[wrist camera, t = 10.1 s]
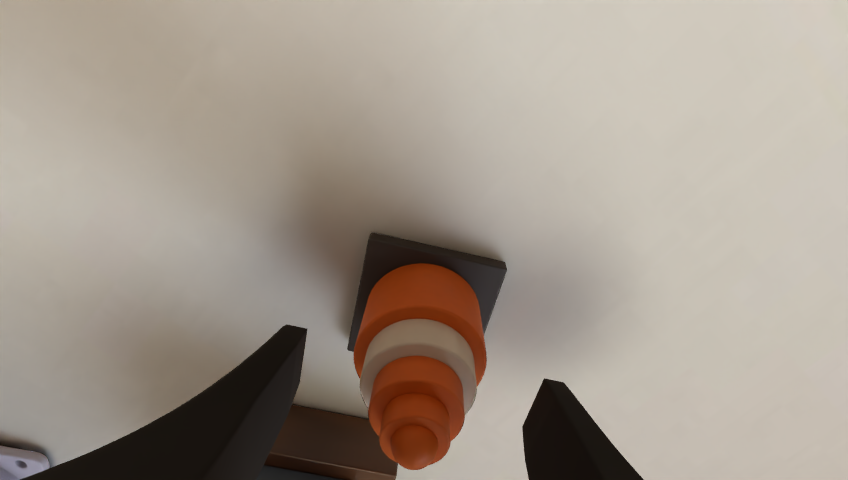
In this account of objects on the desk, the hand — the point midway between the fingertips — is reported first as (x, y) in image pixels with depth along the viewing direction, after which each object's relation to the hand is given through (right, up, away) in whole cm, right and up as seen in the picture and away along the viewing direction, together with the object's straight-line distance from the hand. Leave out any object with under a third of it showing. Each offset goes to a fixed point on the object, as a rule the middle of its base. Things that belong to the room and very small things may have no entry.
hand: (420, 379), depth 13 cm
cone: (0, +2, +4) cm, 4 cm away
